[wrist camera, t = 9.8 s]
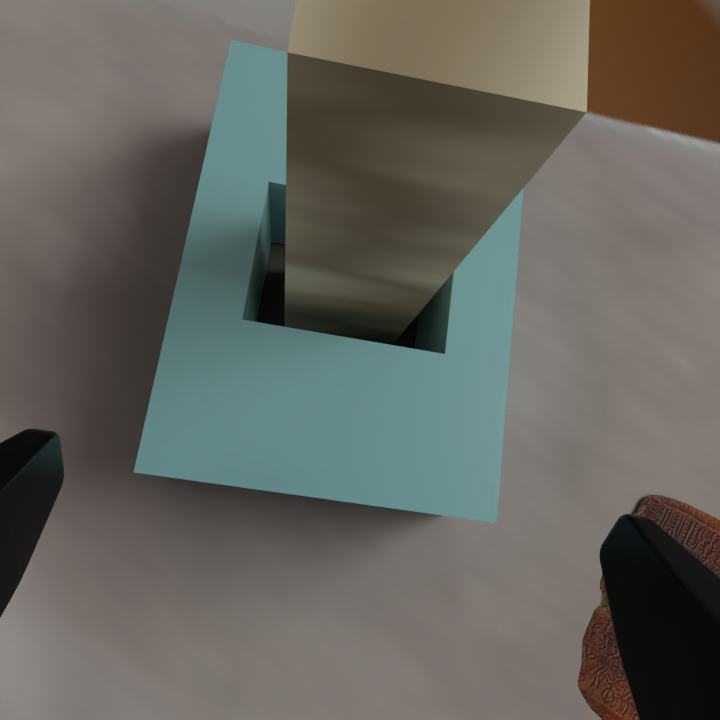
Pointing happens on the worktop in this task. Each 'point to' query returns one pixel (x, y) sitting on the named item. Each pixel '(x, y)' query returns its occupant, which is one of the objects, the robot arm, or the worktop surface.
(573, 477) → the worktop surface
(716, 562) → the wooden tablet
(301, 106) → the slat
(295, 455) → the end cap
